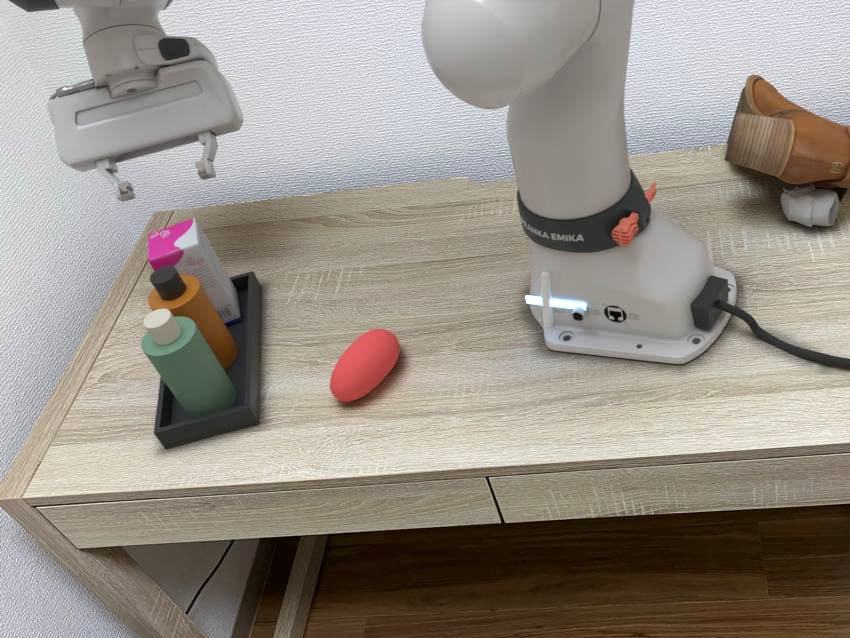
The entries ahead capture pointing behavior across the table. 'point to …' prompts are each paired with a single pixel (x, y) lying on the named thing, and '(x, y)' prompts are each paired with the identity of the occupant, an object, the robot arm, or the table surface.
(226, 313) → the supplement box
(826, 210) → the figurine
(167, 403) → the tray
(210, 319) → the amber bottle
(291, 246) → the table surface
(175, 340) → the sage bottle
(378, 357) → the stress ball
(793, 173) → the boot
